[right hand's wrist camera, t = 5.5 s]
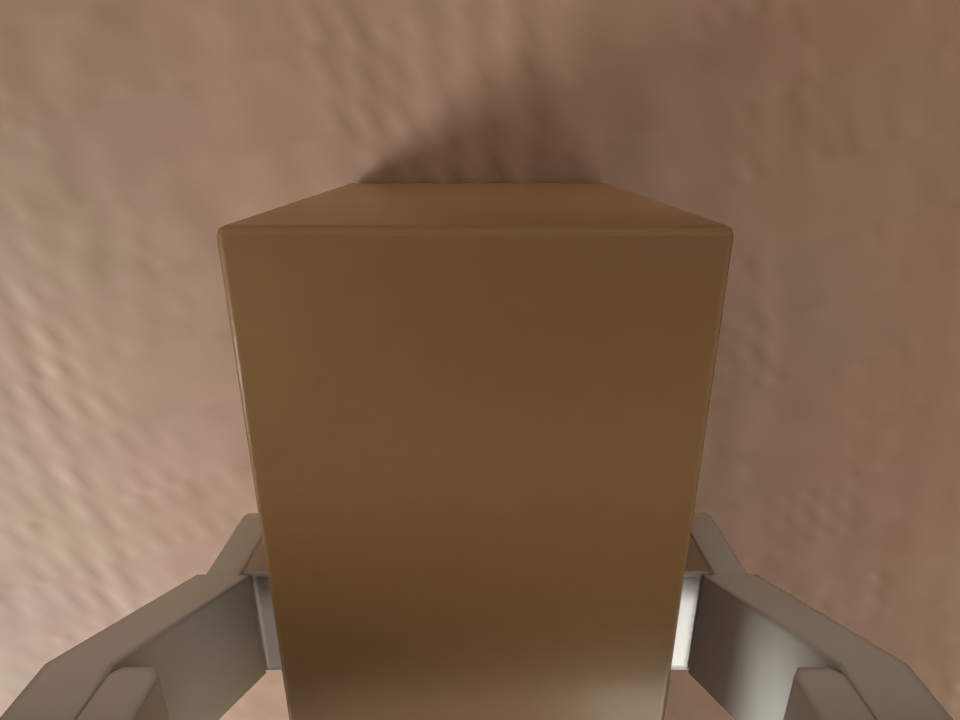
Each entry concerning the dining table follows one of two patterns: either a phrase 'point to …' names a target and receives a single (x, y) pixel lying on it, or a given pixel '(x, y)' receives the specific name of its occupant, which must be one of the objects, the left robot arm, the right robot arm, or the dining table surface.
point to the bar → (475, 442)
